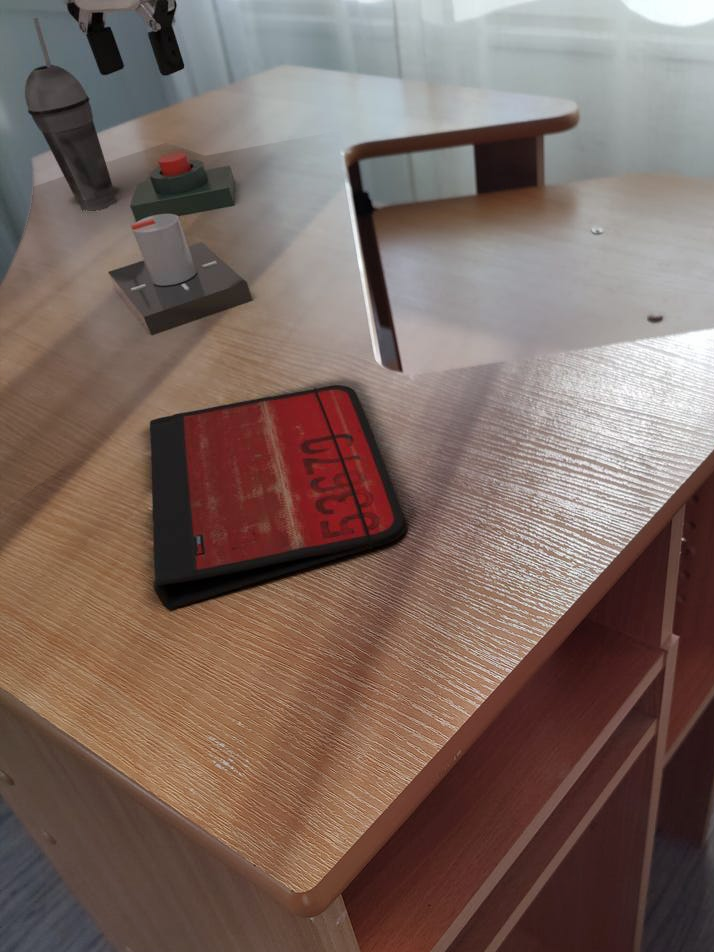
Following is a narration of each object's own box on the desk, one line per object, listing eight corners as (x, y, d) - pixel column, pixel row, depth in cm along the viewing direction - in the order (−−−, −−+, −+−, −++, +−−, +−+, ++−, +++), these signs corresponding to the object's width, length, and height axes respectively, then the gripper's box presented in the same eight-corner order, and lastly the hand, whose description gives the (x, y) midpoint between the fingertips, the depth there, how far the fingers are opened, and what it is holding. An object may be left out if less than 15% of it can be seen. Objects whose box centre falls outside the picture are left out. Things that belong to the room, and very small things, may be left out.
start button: (161, 179, 106) (156, 164, 104) (164, 170, 108) (158, 155, 107) (191, 174, 106) (186, 158, 104) (192, 165, 108) (187, 150, 107)
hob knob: (190, 262, 86) (170, 206, 83) (202, 276, 83) (182, 218, 80) (147, 276, 85) (125, 219, 81) (157, 290, 82) (135, 232, 79)
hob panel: (119, 300, 90) (106, 270, 87) (211, 270, 92) (201, 240, 90) (156, 348, 80) (143, 315, 78) (256, 313, 83) (246, 280, 81)
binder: (150, 584, 52) (145, 417, 66) (163, 613, 53) (155, 443, 68) (411, 521, 54) (350, 374, 69) (416, 551, 56) (356, 400, 70)
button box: (137, 224, 106) (123, 189, 103) (143, 201, 112) (131, 167, 110) (234, 206, 107) (224, 170, 104) (235, 183, 113) (225, 149, 110)
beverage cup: (62, 209, 114) (-17, 26, 100) (114, 191, 117) (44, 11, 103) (83, 220, 110) (4, 30, 95) (136, 201, 112) (66, 15, 98)
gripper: (163, -145, 84) (221, 62, 96) (47, -128, 91) (114, 62, 103) (105, -133, 80) (174, 82, 92) (-12, -116, 87) (66, 81, 99)
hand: (142, 72), depth 98 cm, fingers open, 9 cm apart
